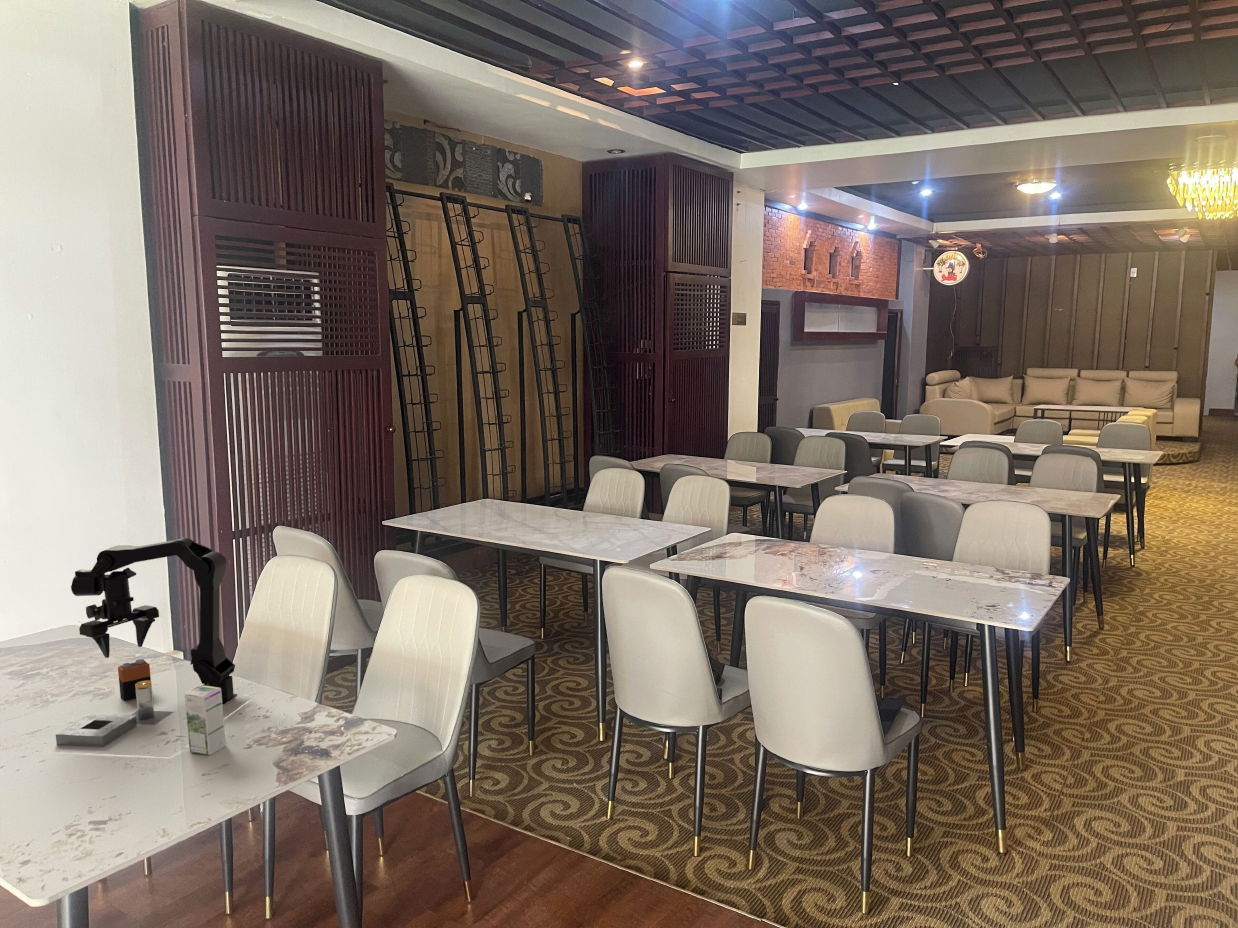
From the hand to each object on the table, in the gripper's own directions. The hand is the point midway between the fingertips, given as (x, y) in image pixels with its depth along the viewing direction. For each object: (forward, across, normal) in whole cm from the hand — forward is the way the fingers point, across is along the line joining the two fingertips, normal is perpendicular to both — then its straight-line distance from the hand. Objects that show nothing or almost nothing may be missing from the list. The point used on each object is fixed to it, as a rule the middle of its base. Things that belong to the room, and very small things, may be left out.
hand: (123, 652), depth 237 cm
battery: (+14, -3, -1) cm, 14 cm away
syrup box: (+14, +11, +44) cm, 48 cm away
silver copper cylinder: (+13, +6, +15) cm, 21 cm away
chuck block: (+14, +18, +14) cm, 26 cm away
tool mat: (+14, +6, +15) cm, 21 cm away
